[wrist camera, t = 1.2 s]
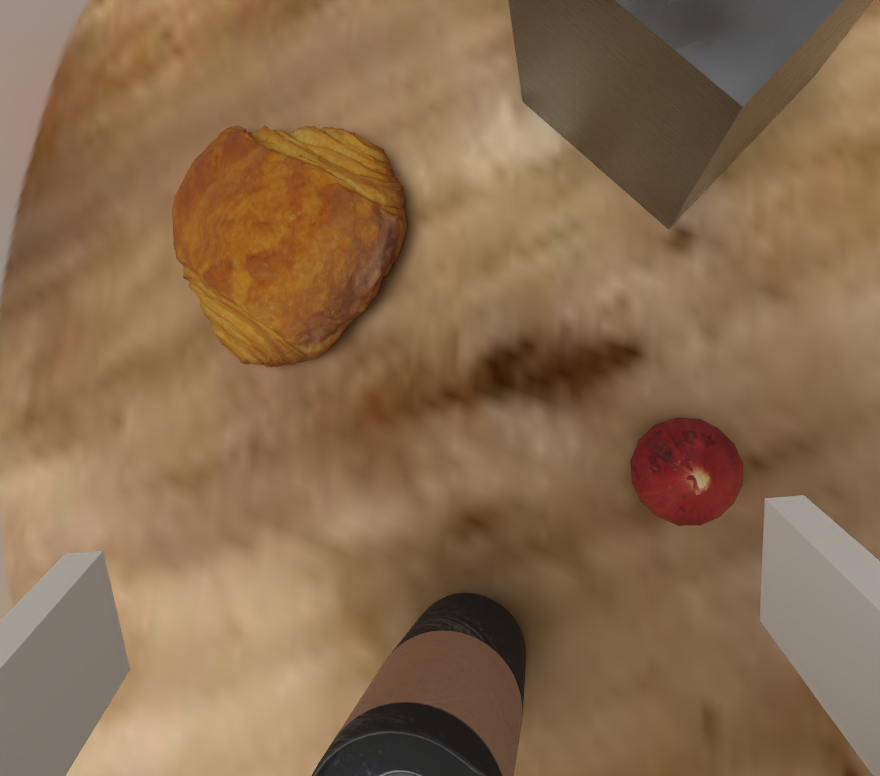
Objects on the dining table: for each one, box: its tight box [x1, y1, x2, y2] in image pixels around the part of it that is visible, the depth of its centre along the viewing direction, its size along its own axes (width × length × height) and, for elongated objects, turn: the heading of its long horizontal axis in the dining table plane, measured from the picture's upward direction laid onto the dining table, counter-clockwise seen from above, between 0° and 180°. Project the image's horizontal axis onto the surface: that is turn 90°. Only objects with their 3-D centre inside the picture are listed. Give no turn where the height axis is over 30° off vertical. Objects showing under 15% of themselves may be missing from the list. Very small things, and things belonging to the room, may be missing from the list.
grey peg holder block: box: [509, 0, 873, 229], centre depth 36 cm, size 12×12×19 cm
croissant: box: [172, 126, 407, 367], centre depth 46 cm, size 14×16×8 cm
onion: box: [630, 418, 743, 526], centre depth 41 cm, size 6×6×8 cm
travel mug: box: [312, 593, 526, 776], centre depth 37 cm, size 8×8×20 cm
